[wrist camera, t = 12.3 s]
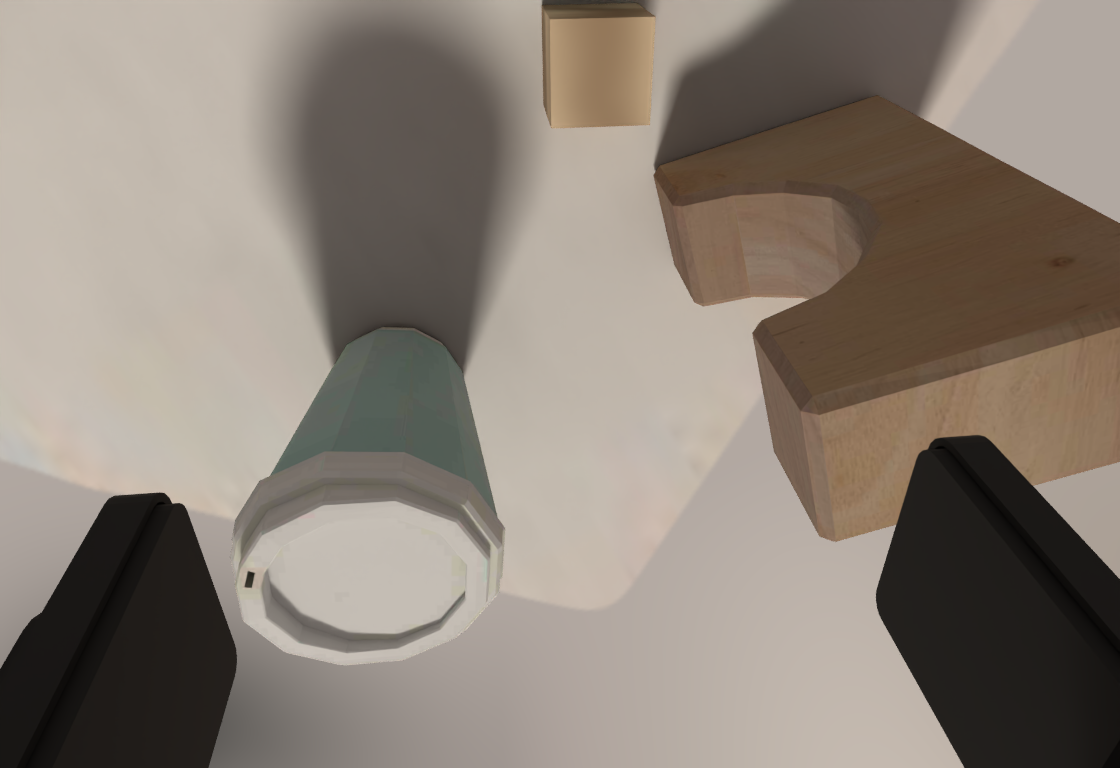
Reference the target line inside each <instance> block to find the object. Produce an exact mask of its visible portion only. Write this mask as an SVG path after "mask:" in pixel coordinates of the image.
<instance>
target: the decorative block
mask: <svg viewBox="0 0 1120 768" xmlns="http://www.w3.org/2000/svg"><path fill="white" fill-rule="evenodd" d="M654 179H655V184H656V188H657V192H658V196H659V201H660V205H661V209H662V214H663V218H664V222H665V226H666V231H667V235H668V239H669V243H670V248H671V252H672V256H673V261H674V265H675V267H676V268H677V270H678V272H679V274H680V276H681V278H682V280H683V282H684V284H685V286H686V287H687V289H688V291H689V293H690V295H691V297H692V299H693V301H694V302H695V303H697V304H699V305H701V306H709V305H714V304H719V303H724V302H729V301H734V300H739V299H744V298H750V297H786V298H805V299H809V300H807V301H805V302H802V303H800V304H798V305H796V306H793V307H791V308H789V309H786V310H784V311H782V312H780V313H777V314H775V315H773V316H771V317H768V318H766V319H764V320H762V321H761V322H760V323H759V324H758V326H757V327H756V329H755V330H754V332H753V333H752V334H753V339H754V345H755V350H756V356H757V361H758V366H759V372H760V377H761V383H762V388H763V394H764V399H765V405H766V410H767V415H768V421H769V426H770V432H771V437H772V443H773V448H774V452H775V454H776V456H777V458H778V460H779V461H780V463H781V465H782V467H783V469H784V471H785V473H786V475H787V476H788V478H789V480H790V482H791V484H792V486H793V488H794V490H795V491H796V493H797V495H798V497H799V499H800V501H801V503H802V505H803V506H804V508H805V510H806V512H807V514H808V516H809V518H810V520H811V521H812V523H813V525H814V527H815V529H816V531H817V533H818V534H819V536H820V537H823V538H825V539H828V540H831V541H840V540H843V539H847V538H850V537H854V536H858V535H861V534H865V533H868V532H872V531H875V530H879V529H882V528H886V527H889V526H893V525H896V524H897V521H898V518H899V515H900V511H901V508H902V505H903V501H904V498H905V495H906V492H907V488H908V485H909V482H910V478H911V475H912V472H913V468H914V465H915V462H916V459H917V457H918V454H919V453H920V452H921V451H923V450H928V447H929V445H930V443H931V442H932V441H933V440H934V439H937V438H942V437H956V436H970V435H981V436H985V437H986V438H988V439H989V440H990V441H991V442H992V443H993V444H994V445H995V446H996V447H997V448H998V449H999V450H1000V451H1001V452H1002V453H1003V454H1004V456H1005V457H1006V458H1007V459H1008V460H1009V461H1010V462H1011V463H1012V464H1013V465H1014V466H1015V467H1016V468H1017V470H1018V471H1019V472H1020V473H1021V474H1022V475H1023V476H1024V477H1025V478H1026V479H1027V480H1028V481H1029V482H1030V483H1031V485H1032V486H1034V485H1038V484H1041V483H1045V482H1048V481H1052V480H1056V479H1059V478H1063V477H1066V476H1070V475H1073V474H1077V473H1081V472H1084V471H1088V470H1092V469H1095V468H1099V467H1102V466H1106V465H1110V464H1113V463H1117V462H1120V223H1118V222H1116V221H1114V220H1112V219H1111V218H1109V217H1107V216H1105V215H1103V214H1101V213H1099V212H1097V211H1096V210H1093V209H1092V208H1090V207H1088V206H1086V205H1084V204H1083V203H1081V202H1079V201H1077V200H1075V199H1073V198H1071V197H1069V196H1067V195H1065V194H1063V193H1061V192H1060V191H1057V190H1056V189H1054V188H1052V187H1050V186H1048V185H1046V184H1044V183H1042V182H1041V181H1039V180H1037V179H1035V178H1033V177H1031V176H1029V175H1027V174H1025V173H1023V172H1021V171H1020V170H1018V169H1016V168H1014V167H1012V166H1010V165H1008V164H1006V163H1004V162H1002V161H1000V160H999V159H996V158H995V157H993V156H991V155H989V154H987V153H986V152H984V151H982V150H980V149H978V148H976V147H974V146H973V145H971V144H969V143H967V142H965V141H963V140H961V139H960V138H958V137H956V136H954V135H952V134H950V133H948V132H947V131H945V130H943V129H941V128H939V127H937V126H935V125H934V124H932V123H930V122H928V121H926V120H924V119H922V118H920V117H918V116H916V115H914V114H913V113H911V112H909V111H907V110H905V109H903V108H901V107H899V106H897V105H895V104H893V103H892V102H890V101H888V100H886V99H884V98H882V97H880V96H878V95H876V96H873V97H870V98H867V99H864V100H861V101H858V102H855V103H851V104H848V105H845V106H842V107H839V108H836V109H833V110H830V111H827V112H823V113H820V114H817V115H814V116H811V117H808V118H805V119H802V120H799V121H795V122H792V123H789V124H786V125H783V126H780V127H777V128H774V129H771V130H768V131H764V132H761V133H758V134H755V135H752V136H749V137H746V138H743V139H740V140H737V141H734V142H731V143H728V144H724V145H721V146H718V147H715V148H712V149H709V150H706V151H703V152H700V153H697V154H694V155H691V156H688V157H685V158H681V159H678V160H675V161H672V162H669V163H666V164H663V165H660V166H659V167H658V169H657V170H656V172H655V174H654Z"/></svg>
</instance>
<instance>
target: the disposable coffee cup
mask: <svg viewBox="0 0 1120 768" xmlns="http://www.w3.org/2000/svg"><path fill="white" fill-rule="evenodd" d="M504 540H505V527H504V526H503V525H502V523H501V522H500V520H499V519H498V517H497V513H496V509H495V505H494V501H493V497H492V493H491V488H490V484H489V480H488V476H487V472H486V468H485V464H484V459H483V455H482V451H481V447H480V443H479V439H478V435H477V430H476V426H475V422H474V418H473V414H472V410H471V405H470V401H469V397H468V393H467V389H466V385H465V381H464V376H463V372H462V371H461V369H460V368H459V366H458V365H457V363H456V362H455V360H454V359H453V357H452V356H451V354H450V353H449V351H448V350H447V348H446V347H445V346H444V345H443V344H442V342H440V341H438V340H436V339H434V338H432V337H430V336H428V335H426V334H424V333H422V332H420V331H419V330H417V329H415V328H396V327H381V328H378V329H376V330H374V331H372V332H370V333H368V334H366V335H364V336H362V337H360V338H357V339H355V340H354V341H353V342H351V343H348V344H347V345H346V347H345V349H344V350H343V352H342V353H341V355H340V357H339V358H338V360H337V361H336V363H335V365H334V366H333V368H332V369H331V371H330V373H329V375H328V376H327V378H326V380H325V382H324V383H323V385H322V387H321V389H320V390H319V392H318V394H317V395H316V397H315V399H314V401H313V402H312V404H311V406H310V408H309V409H308V411H307V413H306V415H305V416H304V418H303V420H302V421H301V423H300V425H299V427H298V428H297V430H296V432H295V434H294V435H293V437H292V439H291V441H290V442H289V444H288V446H287V447H286V449H285V451H284V453H283V454H282V456H281V458H280V460H279V461H278V463H277V465H276V467H275V468H274V470H273V472H272V473H271V475H270V476H269V477H267V478H265V479H262V480H260V481H259V483H258V484H257V486H256V487H255V489H254V491H253V492H252V494H251V495H250V497H249V499H248V500H247V502H246V504H245V505H244V507H243V508H242V510H241V512H240V513H239V515H238V516H237V518H236V520H235V525H234V530H233V536H232V543H233V544H232V549H231V555H230V559H231V563H232V568H233V573H234V578H235V588H236V592H237V597H238V602H239V606H240V611H241V615H242V620H243V621H244V622H245V623H247V624H248V625H249V626H251V627H252V628H253V629H254V630H256V631H257V632H258V633H260V634H261V635H262V636H264V637H265V638H267V639H268V640H269V641H270V642H272V643H273V644H275V645H276V646H277V647H278V648H280V649H281V650H282V651H284V652H285V653H290V654H295V655H299V656H303V657H308V658H312V659H317V660H322V661H325V662H330V663H334V664H339V665H353V664H365V663H377V662H389V661H401V660H405V659H407V658H409V657H412V656H414V655H417V654H419V653H421V652H424V651H426V650H428V649H431V648H433V647H436V646H438V645H440V644H442V643H445V642H447V641H450V640H452V639H454V638H456V637H457V636H458V635H459V634H461V633H463V632H464V631H465V630H466V629H467V628H468V627H469V626H470V625H471V624H472V623H473V621H474V620H475V619H476V618H477V617H478V616H479V615H480V613H482V611H483V610H484V609H485V608H486V607H487V606H488V605H489V604H490V603H491V602H492V600H493V599H494V598H495V597H496V596H497V595H498V594H499V588H500V579H501V578H502V572H503V556H504Z"/></svg>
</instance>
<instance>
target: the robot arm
mask: <svg viewBox="0 0 1120 768" xmlns="http://www.w3.org/2000/svg"><path fill="white" fill-rule="evenodd" d="M876 603H877V609H878V612H879V615H880V617H881V619H882V621H883V623H884V625H885V626H886V628H887V630H888V632H889V633H890V635H891V637H892V639H893V641H894V642H895V644H896V646H897V648H898V649H899V652H900V653H901V655H902V657H903V658H904V660H905V662H906V664H907V666H908V668H909V669H910V671H911V673H912V675H913V677H914V678H915V680H916V682H917V684H918V685H919V687H920V689H921V691H922V693H923V694H924V696H925V698H926V700H927V702H928V703H929V705H930V707H931V709H932V710H933V712H934V714H935V716H936V718H937V719H938V721H939V723H940V725H941V727H942V728H943V730H944V732H945V734H946V735H947V737H948V739H949V741H950V743H951V744H952V746H953V748H954V750H955V752H956V753H957V755H958V757H959V759H960V760H961V762H962V764H963V766H964V768H1120V579H1119V578H1118V577H1117V576H1116V575H1115V574H1114V573H1113V572H1112V570H1111V569H1110V568H1109V567H1108V566H1107V565H1106V564H1105V563H1104V562H1103V561H1102V560H1101V559H1100V558H1099V557H1098V555H1097V554H1096V553H1095V552H1094V551H1093V550H1092V549H1091V548H1090V547H1089V546H1088V545H1087V544H1086V543H1085V541H1084V540H1082V538H1081V537H1080V536H1079V535H1078V534H1077V533H1076V532H1075V531H1074V530H1073V529H1072V528H1071V526H1070V525H1069V524H1068V523H1067V522H1066V521H1065V520H1064V519H1063V518H1062V517H1061V516H1060V515H1059V514H1058V513H1057V511H1056V510H1055V509H1054V508H1053V507H1052V506H1051V505H1050V504H1049V503H1048V502H1047V501H1046V500H1045V499H1044V498H1043V496H1042V495H1041V494H1040V493H1039V492H1038V491H1037V490H1036V489H1035V488H1034V487H1033V486H1032V485H1031V483H1030V482H1029V481H1028V480H1027V479H1026V478H1025V477H1024V476H1023V475H1022V474H1021V473H1020V472H1019V471H1018V470H1017V468H1016V467H1015V466H1014V465H1013V464H1012V463H1011V462H1010V461H1009V460H1008V459H1007V458H1006V457H1005V456H1004V454H1003V453H1002V452H1001V451H1000V450H999V449H998V448H997V447H996V446H995V445H994V444H993V443H992V442H991V441H990V440H989V439H988V438H986V437H985V436H981V435H970V436H956V437H942V438H937V439H934V440H933V441H932V442H931V443H930V445H929V447H928V450H923V451H921V452H920V453H919V454H918V457H917V459H916V462H915V465H914V468H913V472H912V475H911V478H910V482H909V485H908V488H907V492H906V495H905V498H904V501H903V505H902V508H901V511H900V515H899V518H898V521H897V524H896V528H895V531H894V534H893V538H892V541H891V544H890V548H889V551H888V554H887V557H886V561H885V564H884V567H883V571H882V574H881V577H880V580H879V584H878V587H877V591H876ZM236 665H237V655H236V647H235V644H234V641H233V638H232V635H231V633H230V630H229V627H228V624H227V621H226V619H225V616H224V613H223V610H222V607H221V605H220V602H219V599H218V596H217V593H216V590H215V588H214V585H213V582H212V579H211V576H210V574H209V571H208V568H207V565H206V563H205V560H204V557H203V554H202V551H201V549H200V546H199V543H198V540H197V537H196V535H195V532H194V529H193V526H192V523H191V521H190V518H189V515H188V512H187V510H186V508H185V506H184V505H183V504H180V503H175V504H172V502H171V500H170V498H169V497H168V496H167V495H166V494H165V493H148V494H133V495H119V496H113V497H111V498H109V499H108V500H107V502H106V503H105V504H104V506H103V508H102V509H101V511H100V513H99V514H98V516H97V518H96V520H95V521H94V523H93V525H92V527H91V528H90V530H89V532H88V534H87V535H86V537H85V539H84V541H83V542H82V544H81V546H80V547H79V549H78V551H77V553H76V554H75V556H74V558H73V559H72V562H71V563H70V565H69V566H68V568H67V570H66V572H65V573H64V575H63V577H62V579H61V580H60V582H59V584H58V585H57V587H56V589H55V591H54V592H53V594H52V596H51V598H50V599H49V601H48V603H47V605H46V606H45V608H44V610H43V611H42V613H40V614H39V615H37V616H36V617H34V618H33V619H32V620H31V621H30V622H29V623H28V625H27V626H26V627H25V629H24V630H23V631H22V633H21V635H20V636H19V638H18V640H17V642H16V643H15V645H14V647H13V648H12V650H11V652H10V654H9V655H8V657H7V659H6V661H5V662H4V664H3V665H2V667H1V669H0V768H208V767H209V763H210V760H211V757H212V753H213V750H214V746H215V743H216V739H217V736H218V732H219V729H220V726H221V722H222V719H223V715H224V712H225V708H226V705H227V701H228V697H229V695H230V690H231V688H232V684H233V680H234V677H235V673H236Z"/></svg>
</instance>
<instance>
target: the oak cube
mask: <svg viewBox="0 0 1120 768" xmlns="http://www.w3.org/2000/svg"><path fill="white" fill-rule="evenodd" d="M654 35H655V16H654V15H652V14H651V13H650V12H648V11H647V10H646V9H644V8H643V7H642V6H640V5H639V4H638V3H615V4H569V5H542V51H543V105H544V108H545V111H546V114H547V117H548V120H549V123H550V126H551V128H575V127H605V126H634V125H650V109H651V91H652V72H653V53H654Z"/></svg>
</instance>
